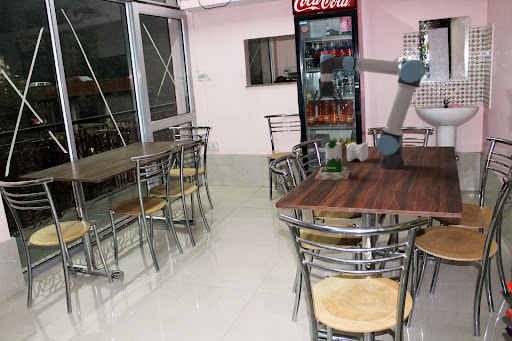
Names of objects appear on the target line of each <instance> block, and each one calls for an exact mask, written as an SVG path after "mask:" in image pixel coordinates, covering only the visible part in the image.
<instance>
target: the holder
mask: <svg viewBox="0 0 512 341" xmlns="http://www.w3.org/2000/svg"><path fill="white" fill-rule="evenodd" d="M349 176H350V170H347V166H346V167H344V166H342V171H341V173H326V166H325V167H323V166H321V167H320V168H319V171H318V172H317V174H316V175H315V178H314V179H315V180H316V181H317V180H329V181H331V180H332V181H333V180H334V181H337V180H338V181H339V180H340V181H342V180H343V181H345V180H346V181H347V180H348V179H349Z"/></svg>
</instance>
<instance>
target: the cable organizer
mask: <svg viewBox="0 0 512 341" xmlns="http://www.w3.org/2000/svg"><path fill="white" fill-rule="evenodd" d="M368 158H369V143H368V142H367V141H364V142H363V143H360V144H357V142H354V141H353V142H351V143H349V144H347V145H346V161H348V162H352V161H354V160H355V159H357V160H359V161H360V162H361V163H363V162H365V161H366V160H367V159H368Z"/></svg>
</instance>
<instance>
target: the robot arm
mask: <svg viewBox="0 0 512 341" xmlns="http://www.w3.org/2000/svg"><path fill="white" fill-rule="evenodd" d="M319 66H320V67H319V68H320V69H319V70H320V90H319V89H315V94H314V96H313V99H312V101H311V102H310V106H313V111H314V112H315V118H318V115H319V113H318V104H319V103H320V101H321V100H322V99H323V98H326V97H328V98H329V97H331V98H332V99H334V101H335V102H336V103H337V104H338V105H337V107H338V108H337V110H338V111H337V113H338V114H337V116H338V117H341V111H342V110H343V107H342V106H343V105H345V100H344V99H343V96H342V95H341V93H340V89H339V88H334V85H335V84H334V71H358V72H367V73H376V74H385V75H392V76H398V78H397V79H398V80H397V84H398V89H397V92H396V95H395V98H394V100H393V104H392V106H391V110H390V113H389V116H388V120H387V123H386V126H385V127H383V128H382V130H381V133H380V136H379V138H378V139H377V141H376V149H377V151H378V152H379V153H380V154H382V155H381V158H380V162H379V167H380V168H381V169H386V170H399V169H404V168H406V161H405V160H406V159H405V157H404V154H403V153H404V152H403V150H404V148H403V146H404V143H403V141H404V132H403V125H404V123H405V120H406V116H407V114H408V111H409V107H410V106H411V103H412V102H411V101H412V99H413V96H414V93H415V90H417V89H418V88H419V87H420V84H421V81H422V79H423V77H424V76H425V75H426V70H427V69H426V65H425V63H423V62H422V61H421V60H418V59H417V60H416V59H410V60H409V59H408V60H402V61H394V60H393V61H392V60H384V59H383V60H382V59H373V58H364V57H363V58H362V57H353V56H351V55H350V56H348V55H347V56H338V57H334V55H333V54H322V55H320V61H319ZM319 93H320V94H321V95H320V97H319V98H318V99H317V97H318V95H319ZM334 93H336V94H337V95H338V97H336V95H335V94H334ZM338 98H339V99H338ZM316 99H317V100H316Z"/></svg>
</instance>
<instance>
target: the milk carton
mask: <svg viewBox="0 0 512 341" xmlns="http://www.w3.org/2000/svg"><path fill="white" fill-rule="evenodd" d="M342 154H343V151H342V142H337V140H335V139H329V140H328V142H327V143H326V144H325V167H326V173H341V171H342V167H343V160H342V158H343V155H342Z"/></svg>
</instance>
